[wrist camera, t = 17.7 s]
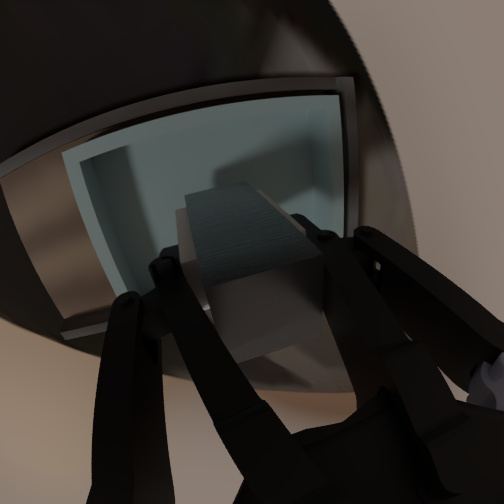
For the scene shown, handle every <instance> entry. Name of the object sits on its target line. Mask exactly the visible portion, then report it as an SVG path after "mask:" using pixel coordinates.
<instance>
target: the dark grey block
mask: <svg viewBox="0 0 504 504" xmlns="http://www.w3.org/2000/svg"><path fill="white" fill-rule="evenodd" d="M184 197H185V203H186V208H187V213H188V218H189V223H190V228H191V233H192V238H193V243H194V247H195V252H196V257H197V261H198V266H199V270H200V274H201V279H202V283H203V287H204V291H205V294H206V297H207V300H208V304H209V307H210V310H211V313H212V316H213V319H214V322H215V325H216V328H217V331H218V334H219V336H220V338H221V340H222V341H223V343H224V344H225V346H226V348H227V349H228V351H229V352H230V354H231V355H232V357H233V359H234V360H235V362H236V363H239V362H242V361H246V360H249V359H252V358H256V357H259V356H262V355H265V354H268V353H271V352H274V351H277V350H280V349H283V348H286V347H289V346H292V345H294V344H297V343H300V342H303V341H305V340H308V339H311V338H313V337H316V336H319V335H321V330H322V311H323V283H324V254H323V253H322V252H321V251H320V250H319V249H318V248H317V247H316V246H315V245H314V244H313V243H312V242H311V241H310V240H309V239H308V238H307V237H306V236H305V235H304V234H303V233H302V232H301V231H300V230H298V229H297V228H296V227H295V226H294V225H293V224H292V223H291V222H290V221H289V220H288V219H287V218H286V217H285V216H284V215H282V214H281V213H280V212H279V211H278V210H277V209H276V208H275V207H274V206H273V205H272V204H271V203H269V202H268V201H267V200H266V199H265V198H264V197H263V196H262V195H261V194H259V193H258V192H257V191H256V190H255V189H254V188H253V187H252V186H251V185H249V184H248V183H247V182H246V181H241V182H237V183H232V184H228V185H224V186H219V187H215V188H211V189H207V190H203V191H199V192H195V193H191V194H187V195H184Z"/></svg>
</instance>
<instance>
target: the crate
mask: <svg viewBox="0 0 504 504" xmlns="http://www.w3.org/2000/svg"><path fill="white" fill-rule="evenodd" d="M62 156H63V160H64V163H65V167H66V171H67V174H68V177H69V181H70V184H71V187H72V190H73V193H74V196H75V199H76V202H77V205H78V208H79V211H80V213H81V216H82V219H83V222H84V224H85V227H86V229H87V232H88V234H89V237H90V239H91V242H92V244H93V247H94V249H95V251H96V254H97V256H98V258H99V260H100V263H101V265H102V267H103V269H104V271H105V274H106V276H107V278H108V280H109V282H110V284H111V286H112V288H113V290H114V292H115V294H116V296H117V297H118V296H119V295H121V294H122V293H125V292H128V291H135V292H137V293H139V294H140V296H142V295H144V294H146V293H148V292H150V291H151V290H153V289H154V288H155V284H154V282H153V279H152V277H151V274H150V272H149V269H148V266H149V264H150V263H151V262H152V261H153V260H154V259H156V258H158V257H159V254H160V252H161V251H162V249H163V248H166V247H170V246H174V245H177V244H178V236H177V224H176V212H175V210H177V209H181V208H185V207H186V203H185V197H184V195H187V194H191V193H195V192H199V191H203V190H207V189H211V188H215V187H219V186H224V185H228V184H232V183H237V182H241V181H246V182H247V183H248V184H249V185H251V186H252V187H253V188H254V189H255V190H259V189H260V190H261V191H262V192H264V193H265V194H266V195H267V196H268V197H269V198H270V199H272V200H273V201H274V202H275V203H276V204H277V205H279V206H280V207H281V208H282V209H283V210H284V211H285V212H286V213H288V214H289V215H291V214H295V213H298V214H301V215H304V216H305V217H306V218H307V219H308V220H310V221H311V222H312V223H313V224H315V225H316V226H317V227H318V228H319V229H321V230H331V231H334V232H335V233H337V234H338V236H339V237H340V238H343V229H344V172H343V146H342V129H341V116H340V104H339V95H317V96H295V97H281V98H270V99H260V100H252V101H244V102H237V103H230V104H224V105H218V106H213V107H207V108H202V109H197V110H192V111H188V112H183V113H179V114H175V115H171V116H167V117H163V118H159V119H155V120H152V121H148V122H144V123H141V124H138V125H134V126H131V127H128V128H125V129H122V130H119V131H116V132H113V133H110V134H107V135H104V136H102V137H99V138H96V139H94V140H91V141H88V142H86V143H83V144H81V145H78V146H76V147H74V148H71V149H69V150H67V151H64V152H62Z"/></svg>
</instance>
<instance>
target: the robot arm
mask: <svg viewBox="0 0 504 504" xmlns="http://www.w3.org/2000/svg"><path fill="white" fill-rule="evenodd" d="M256 191H257V192H258V193H259V194H261V195H262V196H263V197H264V198H265V199H266V200H267V201H268V202H269V203H271V204H272V205H273V206H274V207H275V208H276V209H277V210H278V211H279V212H280V213H281V214H282V215H284V216H285V217H286V218H287V219H288V220H289V221H290V222H291V223H292V224H293V225H294V226H295V227H296V228H297V229H298V230H300V231H301V232H302V233H303V234H304V235H305V236H306V237H307V238H308V239H309V240H310V241H311V242H312V243H313V244H314V245H315V246H316V247H317V248H318V249H319V250H320V251H321V252H322V253H323V254H324V283H323V311H324V314H325V316H326V319H327V321H328V324H329V326H330V329H331V331H332V334H333V336H334V339H335V341H336V344H337V346H338V349H339V352H340V354H341V357H342V359H343V362H344V365H345V367H346V370H347V373H348V375H349V378H350V381H351V383H352V386H353V389H354V392H355V395H356V400H357V411H355V412H354V413H353V414H352V415H351V416H349V417H348V418H347V419H346V420H344V421H343V422H341V423H336V424H331V425H326V426H321V427H316V428H309V429H305V430H302V431H300V432H297V433H294V434H290V432H289V431H288V430H287V428H286V427H285V425H284V424H283V423H282V421H281V420H280V419H279V418H278V416H277V415H276V413H275V412H274V411H273V409H272V408H271V407H270V406H269V404H268V403H267V402H266V401H265V400H262V399H261V398H260V397H259V396H258V395H257V393H256V392H255V390H254V389H253V387H252V386H251V384H250V383H249V381H248V380H247V378H246V377H245V375H244V374H243V372H242V371H241V369H240V368H239V366H238V365H237V363H236V362H235V360H234V359H233V357H232V355H231V354H230V352H229V351H228V349H227V348H226V346H225V344H224V343H223V341H222V340H221V338H220V336H219V335H218V333H217V331H216V330H215V328H214V326H213V325H212V323H211V321H210V320H209V318H208V316H207V315H206V313H205V311H204V310H207V309H210V307H209V304H208V300H207V297H206V294H205V291H204V287H203V283H202V279H201V274H200V270H199V266H198V261H197V257H196V252H195V247H194V243H193V238H192V233H191V228H190V223H189V218H188V213H187V208H186V207H185V208H181V209H177V210H175V212H176V224H177V236H178V244H177V245H174V246H170V247H166V248H163V249H162V251H161V252H160V254H159V257H158V258H156V259H154V260H153V261H152V262H151V263H150V264H149V266H148V269H149V272H150V274H151V277H152V279H153V282H154V284H155V288H154V289H153V290H151V291H150V292H148V293H146V294H144V295H142V296H140V294H139V293H137V292H135V291H128V292H125V293H122V294H121V295H119V296H118V297H117V298H116V299H115V300H114V302H113V304H112V307H111V312H110V316H109V320H108V325H107V330H106V335H105V340H104V345H103V350H102V356H101V362H100V368H99V375H98V383H97V389H96V398H95V408H94V418H93V433H92V486H91V489H90V492H89V495H88V498H87V502H86V504H175V495H174V486H173V480H172V474H171V467H170V459H169V451H168V443H167V434H166V423H165V411H164V397H163V379H162V340H161V337H163V336H165V335H167V334H169V333H170V332H172V333H173V336H174V338H175V340H176V343H177V345H178V348H179V350H180V353H181V355H182V357H183V360H184V362H185V364H186V366H187V369H188V371H189V373H190V375H191V377H192V380H193V382H194V384H195V386H196V388H197V390H198V392H199V394H200V396H201V398H202V400H203V403H204V405H205V407H206V409H207V410H208V413H209V414H210V416H211V418H212V420H213V423H214V426H215V428H216V430H217V432H218V434H219V436H220V438H221V440H222V442H223V444H224V445H225V447H226V449H227V450H228V452H229V454H230V456H231V457H232V459H233V461H234V463H235V464H236V466H237V468H238V469H239V471H240V472H241V474H242V475H243V477H244V480H243V482H242V484H241V486H240V489H239V491H238V493H237V495H236V497H235V500H234V502H233V504H504V323H503V322H501V321H500V320H498V319H497V318H496V317H495V316H494V315H492V314H491V313H490V312H489V311H488V310H486V309H485V308H484V307H483V306H482V305H481V304H480V303H478V302H477V301H476V300H475V299H473V298H472V297H471V296H470V295H468V294H467V293H466V292H465V291H463V290H462V289H461V288H460V287H458V286H457V285H456V284H454V283H453V282H452V281H451V280H449V279H448V278H447V277H445V276H444V275H443V274H441V273H440V272H438V271H437V270H436V269H434V268H433V267H432V266H430V265H429V264H427V263H426V262H425V261H423V260H422V259H420V258H419V257H418V256H416V255H415V254H413V253H412V252H410V251H409V250H407V249H406V248H404V247H403V246H401V245H400V244H399V243H397V242H395V241H394V240H392V239H391V238H389V237H388V236H386V235H385V234H383V233H382V232H380V231H379V230H377V229H375V228H373V227H369V226H361V227H357V228H355V229H354V231H353V237H344V238H340V237H339V236H338V234H337V233H335V232H334V231H331V230H321V229H319V228H318V227H317V226H316V225H315V224H313V223H312V222H311V221H310V220H308V219H307V218H306V217H305V216H304V215H301V214H298V213H295V214H291V215H289V214H288V213H286V212H285V211H284V210H283V209H282V208H281V207H280V206H279V205H277V204H276V203H275V202H274V201H273V200H272V199H270V198H269V197H268V196H267V195H266V194H265V193H264V192H262V191H261V190H260V189H259V190H256ZM377 262H378V263H379V264H380V265H381V267H380V271H379V270H378V269H376V263H377ZM404 332H405V333H406V334H407V335H408V336H409V337H410V338H411V339H412V340H413V341H411V340H409V339H408V338H407V336H406V334H405V333H404ZM438 367H439V368H440V369H441V370H442V372H443V373H444V374H445V375H446V376H447V377H449V379H450V380H451V381H452V382H453V383H455V384H456V385H457V386H458V387H460V388H461V389H462V390H464V391H466V392H467V393H469V395H468V397H467V400H466V401H467V402H463V401H459V400H456V399H455V398H454V396H453V394H452V392H451V390H450V388H449V386H448V384H447V382H446V381H445V379H444V377H443V375H442V373H441V372H440V370H439V368H438Z"/></svg>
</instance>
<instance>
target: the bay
mask: <svg viewBox="0 0 504 504" xmlns="http://www.w3.org/2000/svg"><path fill="white" fill-rule="evenodd" d="M317 95H339V104H340V116H341V129H342V146H343V172H344V229H343V238H344V237H353V231H354V229H355V228H357V227H358V210H359V147H358V125H357V110H356V98H355V88H354V79H353V77H290V78H271V79H258V80H248V81H239V82H231V83H224V84H218V85H211V86H206V87H200V88H195V89H190V90H185V91H180V92H176V93H171V94H167V95H163V96H159V97H155V98H152V99H148V100H144V101H141V102H137V103H134V104H131V105H128V106H124V107H121V108H118V109H115V110H112V111H110V112H107V113H104V114H101V115H98V116H96V117H93V118H91V119H88V120H86V121H83V122H81V123H78V124H76V125H74V126H71V127H69V128H67V129H64V130H62V131H60V132H58V133H56V134H54V135H52V136H50V137H47V138H45V139H43V140H42V141H40V142H38V143H36V144H34V145H32V146H30V147H28V148H26V149H25V150H23V151H21V152H19V153H18V154H16V155H14V156H13V157H11V158H9V159H8V160H6V161H4V162H3V163H1V164H0V183H1V186H2V189H3V193H4V196H5V199H6V202H7V204H8V207H9V210H10V213H11V215H12V218H13V221H14V223H15V226H16V228H17V231H18V233H19V235H20V238H21V240H22V242H23V244H24V247H25V249H26V251H27V253H28V255H29V257H30V259H31V261H32V263H33V265H34V267H35V269H36V271H37V273H38V275H39V277H40V279H41V281H42V282H43V284H44V286H45V288H46V290H47V291H48V293H49V295H50V296H51V298H52V300H53V301H54V303H55V305H56V306H57V308H58V310H59V311H60V313H61V314H62V316H63V317H64V319H65V320H64V323H63V326H62V329H61V332H60V333H61V334H62V336H63V337H64V339H65V340H67V339H72V338H77V337H81V336H86V335H91V334H95V333H100V332H104V331H106V330H107V325H108V320H109V316H110V312H111V307H112V304H113V302H114V300H115V299H116V298H117V296H116V294H115V292H114V290H113V288H112V286H111V284H110V282H109V280H108V278H107V276H106V274H105V271H104V269H103V267H102V265H101V263H100V260H99V258H98V256H97V254H96V251H95V249H94V247H93V244H92V242H91V239H90V237H89V234H88V232H87V229H86V227H85V224H84V222H83V219H82V216H81V213H80V211H79V208H78V205H77V202H76V199H75V196H74V193H73V190H72V187H71V184H70V181H69V177H68V174H67V171H66V167H65V163H64V160H63V156H62V152H64V151H67V150H69V149H71V148H74V147H76V146H78V145H81V144H83V143H86V142H88V141H91V140H94V139H96V138H99V137H102V136H104V135H107V134H110V133H113V132H116V131H119V130H122V129H125V128H128V127H131V126H134V125H138V124H141V123H144V122H148V121H152V120H155V119H159V118H163V117H167V116H171V115H175V114H179V113H183V112H188V111H192V110H197V109H202V108H207V107H213V106H218V105H224V104H230V103H237V102H244V101H252V100H260V99H270V98H281V97H295V96H317Z"/></svg>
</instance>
